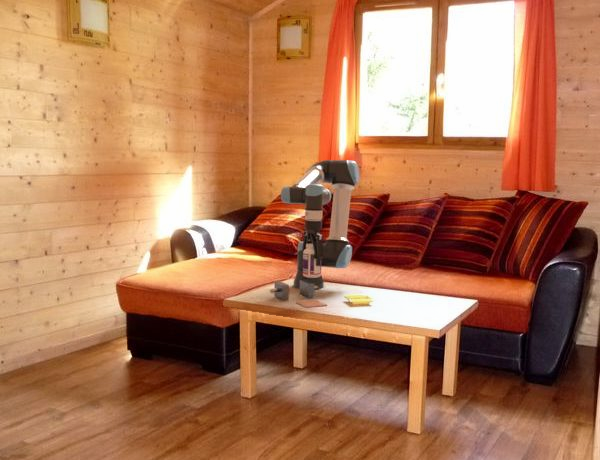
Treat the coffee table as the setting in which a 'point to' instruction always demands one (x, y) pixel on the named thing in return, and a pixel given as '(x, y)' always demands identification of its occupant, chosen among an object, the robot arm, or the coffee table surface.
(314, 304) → the tile
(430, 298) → the coffee table surface
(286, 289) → the vise
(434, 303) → the coffee table surface
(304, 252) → the pill bottle
